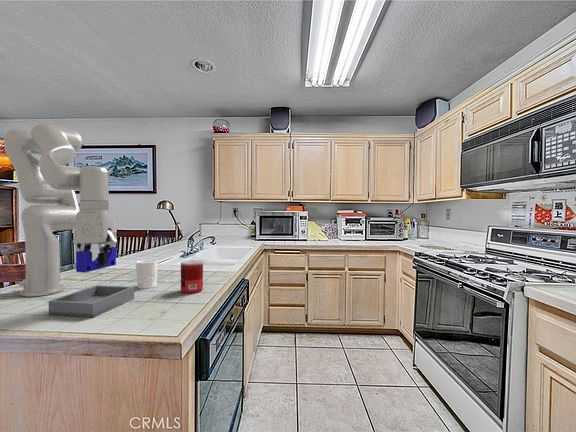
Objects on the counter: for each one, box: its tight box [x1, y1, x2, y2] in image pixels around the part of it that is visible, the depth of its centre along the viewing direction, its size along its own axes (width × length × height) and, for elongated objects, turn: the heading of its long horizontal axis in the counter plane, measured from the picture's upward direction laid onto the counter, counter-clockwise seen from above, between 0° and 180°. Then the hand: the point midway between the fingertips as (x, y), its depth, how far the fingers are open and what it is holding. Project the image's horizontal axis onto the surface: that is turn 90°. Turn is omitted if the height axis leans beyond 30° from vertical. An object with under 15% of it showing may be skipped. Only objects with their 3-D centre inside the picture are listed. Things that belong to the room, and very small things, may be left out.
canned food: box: [180, 259, 204, 295], centre depth 111 cm, size 8×8×11 cm
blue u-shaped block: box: [75, 246, 117, 273], centre depth 92 cm, size 12×4×6 cm, turn 170°
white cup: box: [135, 259, 159, 290], centre depth 116 cm, size 8×8×10 cm
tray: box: [48, 284, 135, 319], centre depth 93 cm, size 14×18×4 cm
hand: (95, 264), depth 92 cm, fingers closed on blue u-shaped block, 4 cm apart
